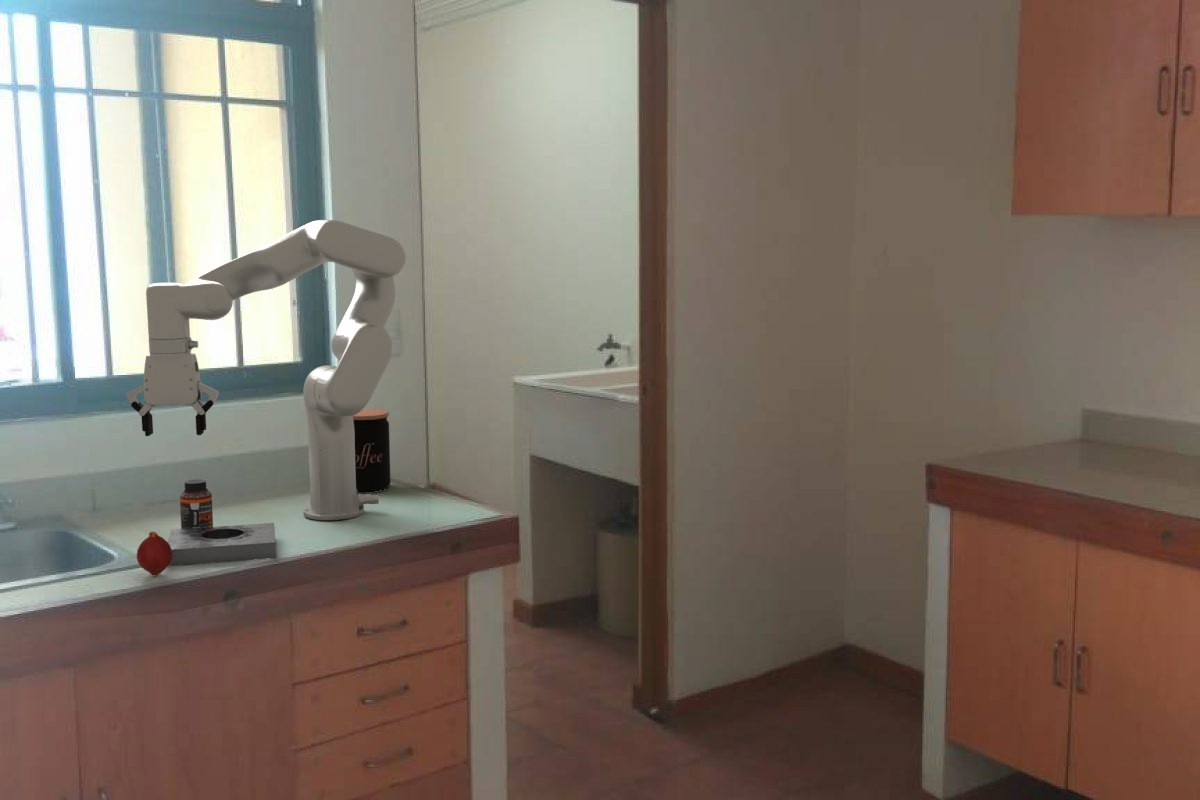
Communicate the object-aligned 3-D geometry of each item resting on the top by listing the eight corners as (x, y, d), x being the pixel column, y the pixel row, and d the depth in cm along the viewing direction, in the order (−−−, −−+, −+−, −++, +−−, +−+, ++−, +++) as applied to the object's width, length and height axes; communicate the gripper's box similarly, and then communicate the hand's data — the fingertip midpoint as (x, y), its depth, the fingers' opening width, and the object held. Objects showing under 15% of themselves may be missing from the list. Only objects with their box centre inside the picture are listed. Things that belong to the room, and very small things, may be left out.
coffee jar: (336, 492, 271) (334, 415, 269) (354, 483, 282) (351, 408, 279) (381, 494, 269) (379, 416, 267) (396, 484, 280) (395, 409, 277)
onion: (143, 571, 209) (141, 527, 208) (177, 570, 210) (174, 526, 209) (133, 580, 204) (131, 535, 202) (167, 580, 204) (165, 534, 203)
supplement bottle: (203, 542, 229) (200, 484, 227) (175, 540, 230) (172, 483, 228) (219, 534, 234) (216, 478, 233) (192, 532, 236) (189, 477, 234)
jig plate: (274, 537, 232) (274, 522, 231) (276, 558, 218) (275, 542, 217) (172, 544, 227) (171, 529, 226) (166, 566, 212) (166, 549, 212)
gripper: (220, 344, 232) (224, 430, 235) (129, 345, 231) (134, 432, 233) (211, 348, 225) (216, 437, 227) (117, 349, 223) (123, 438, 226)
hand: (174, 434), depth 230 cm, fingers open, 9 cm apart
